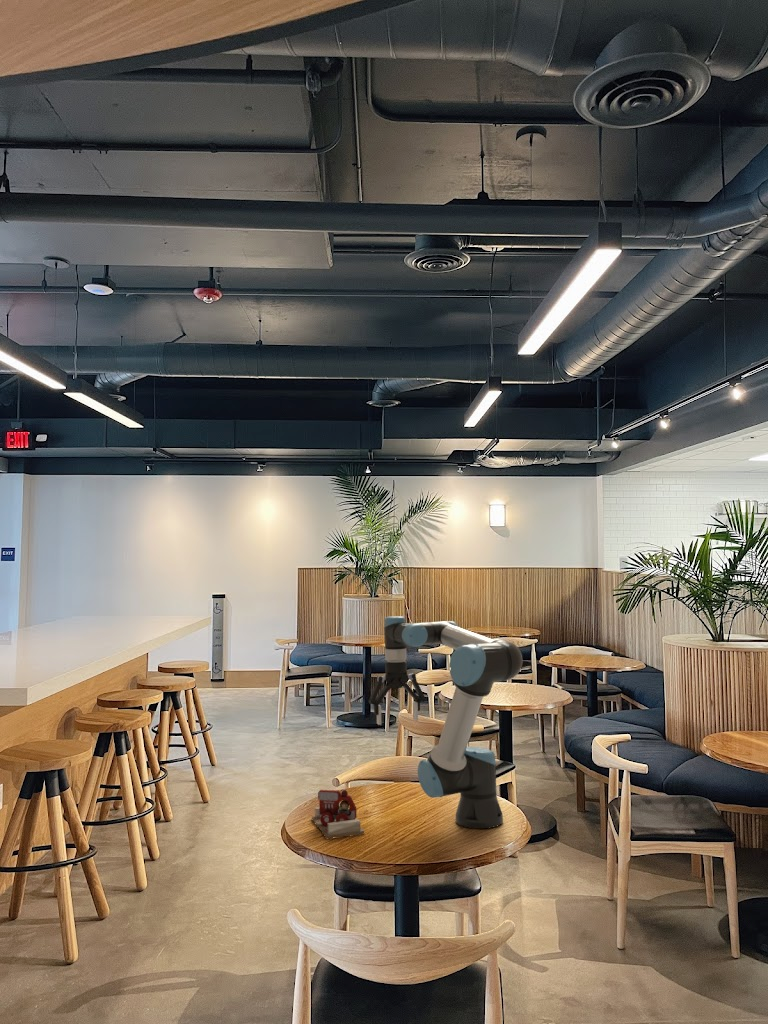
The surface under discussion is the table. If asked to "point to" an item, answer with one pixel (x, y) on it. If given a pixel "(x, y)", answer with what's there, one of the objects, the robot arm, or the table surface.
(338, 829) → the gray jig
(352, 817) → the toy fire truck
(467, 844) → the table surface
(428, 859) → the table surface
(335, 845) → the table surface
